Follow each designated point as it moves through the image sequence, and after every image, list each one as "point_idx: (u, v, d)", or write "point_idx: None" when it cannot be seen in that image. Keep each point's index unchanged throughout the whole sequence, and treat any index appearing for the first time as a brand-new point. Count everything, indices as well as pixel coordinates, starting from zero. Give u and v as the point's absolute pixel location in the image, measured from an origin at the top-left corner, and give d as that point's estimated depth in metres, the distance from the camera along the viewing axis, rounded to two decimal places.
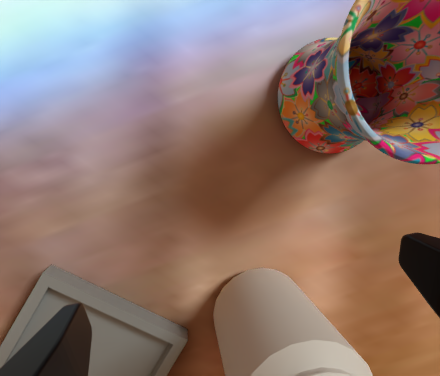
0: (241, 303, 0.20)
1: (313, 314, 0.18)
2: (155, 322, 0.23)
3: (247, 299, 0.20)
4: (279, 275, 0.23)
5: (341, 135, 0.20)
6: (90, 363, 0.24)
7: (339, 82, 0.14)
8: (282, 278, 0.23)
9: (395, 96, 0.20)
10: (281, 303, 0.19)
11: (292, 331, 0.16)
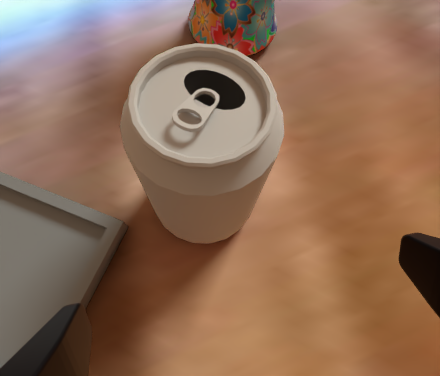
0: None
1: (217, 93, 0.18)
2: None
3: None
4: None
5: (227, 6, 0.24)
6: (14, 268, 0.20)
7: None
8: None
9: None
10: None
11: None
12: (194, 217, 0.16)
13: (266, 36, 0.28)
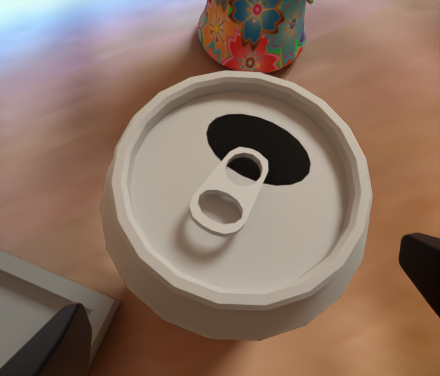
0: None
1: (246, 134, 0.13)
2: (68, 279, 0.16)
3: None
4: None
5: (250, 11, 0.19)
6: None
7: None
8: None
9: None
10: None
11: None
12: None
13: (295, 48, 0.23)
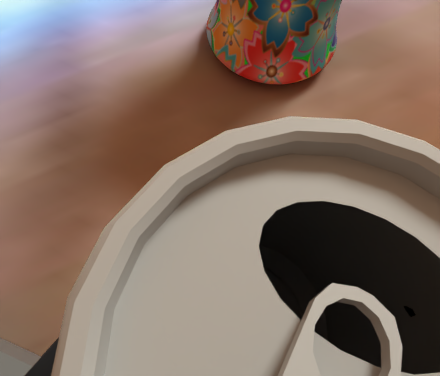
0: None
1: None
2: None
3: None
4: None
5: (276, 8, 0.15)
6: None
7: None
8: None
9: None
10: None
11: None
12: None
13: (326, 53, 0.19)
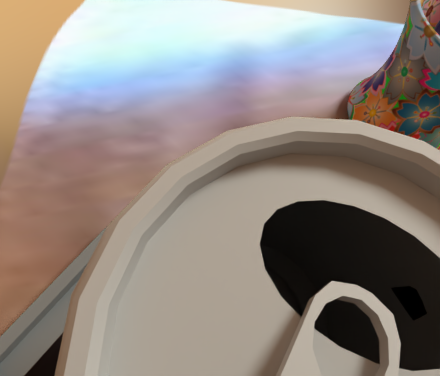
0: None
1: None
2: None
3: None
4: None
5: (416, 113, 0.21)
6: None
7: (416, 18, 0.17)
8: None
9: None
10: None
11: None
12: None
13: (438, 145, 0.24)
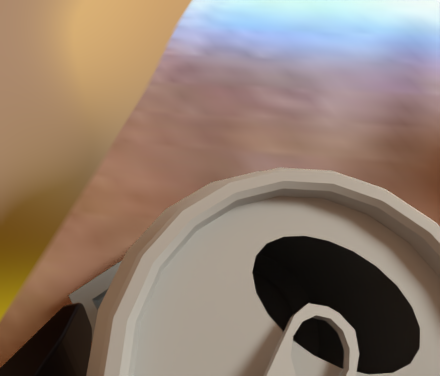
0: None
1: None
2: None
3: None
4: None
5: None
6: None
7: None
8: None
9: None
10: None
11: None
12: None
13: None
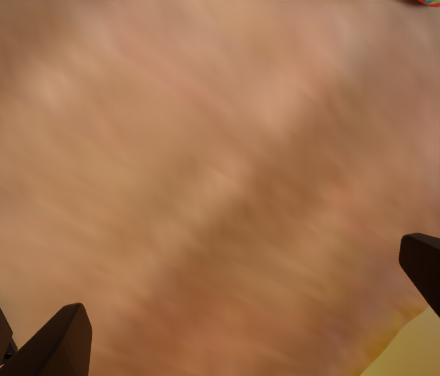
0: None
1: None
2: None
3: None
4: None
5: None
6: None
7: None
8: None
9: None
10: None
11: None
12: None
13: None
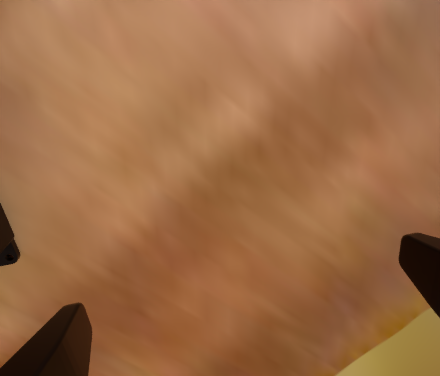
0: None
1: None
2: None
3: None
4: None
5: None
6: None
7: None
8: None
9: None
10: None
11: None
12: None
13: None
